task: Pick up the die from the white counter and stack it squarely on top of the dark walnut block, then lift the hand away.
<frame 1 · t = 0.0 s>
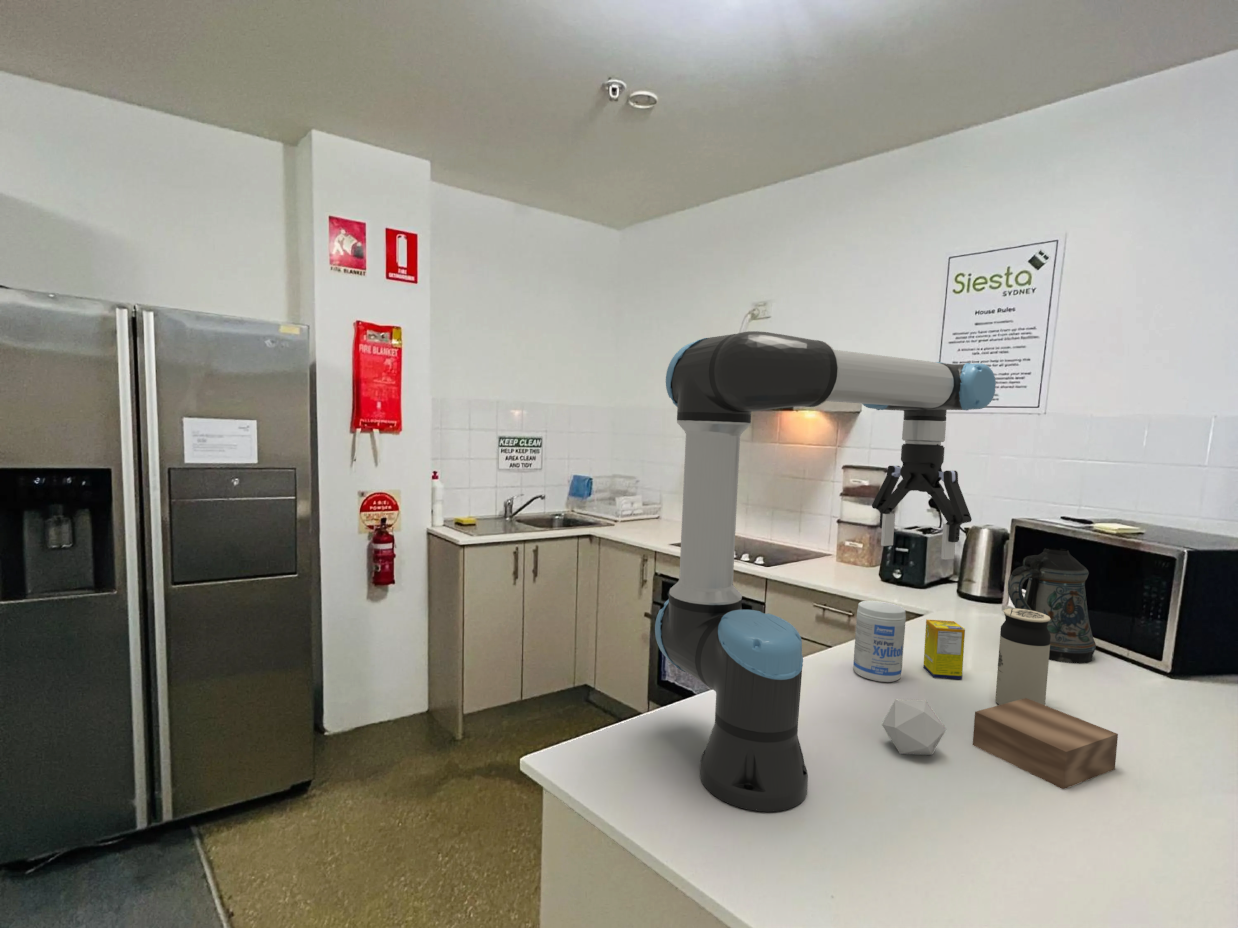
hand: (915, 551, 125), 28 cm above the counter, tool pointing down, fingers open, 13 cm apart
beer stein: (1049, 653, 153), on the counter
walnut block: (1041, 758, 102), on the counter
supplement tub: (876, 675, 135), on the counter
supplement box: (941, 674, 137), on the counter
die: (911, 750, 103), on the counter
travel mug: (1019, 707, 121), on the counter
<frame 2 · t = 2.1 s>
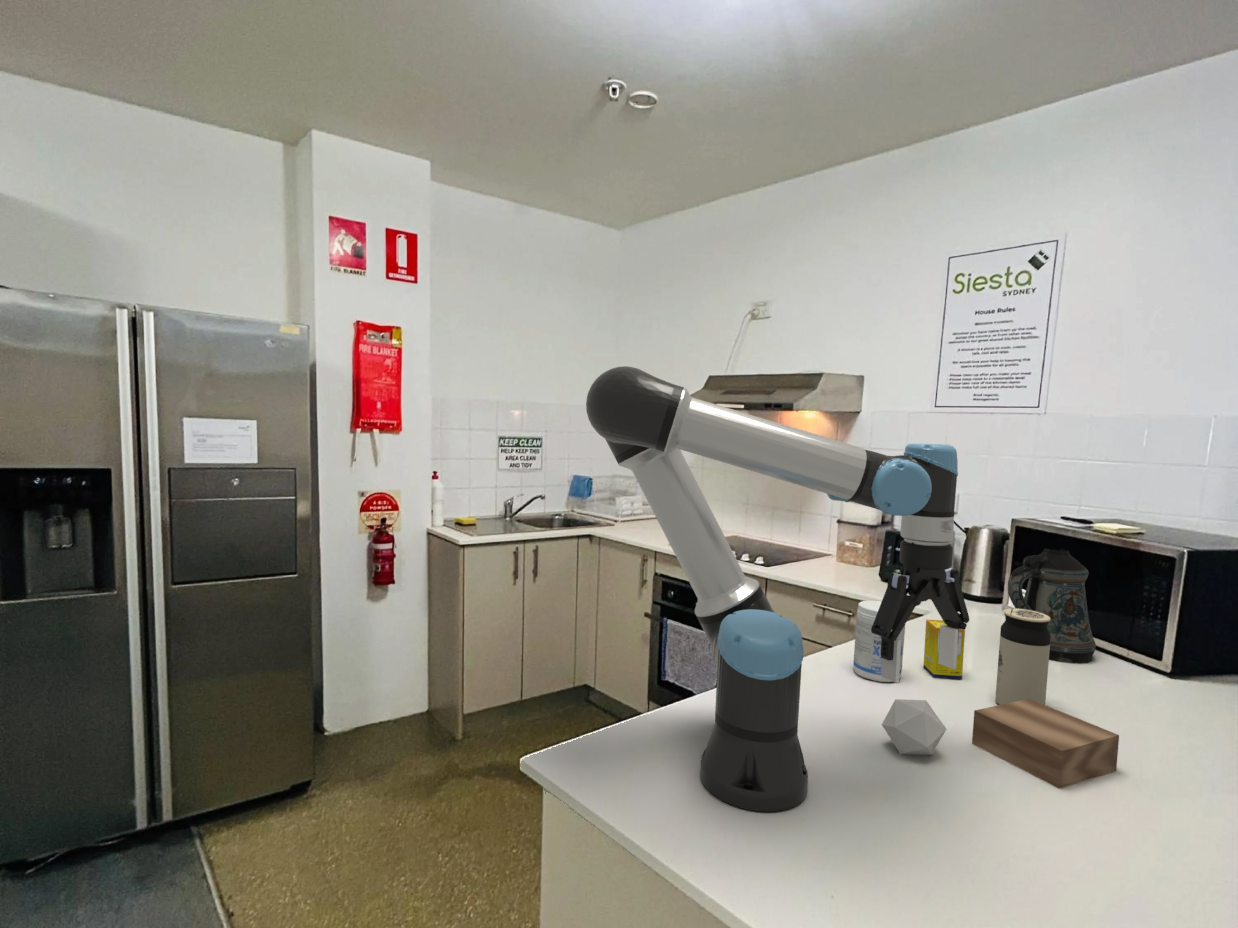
hand: (919, 672, 102), 13 cm above the counter, tool pointing down, fingers open, 13 cm apart
nothing on the counter moved.
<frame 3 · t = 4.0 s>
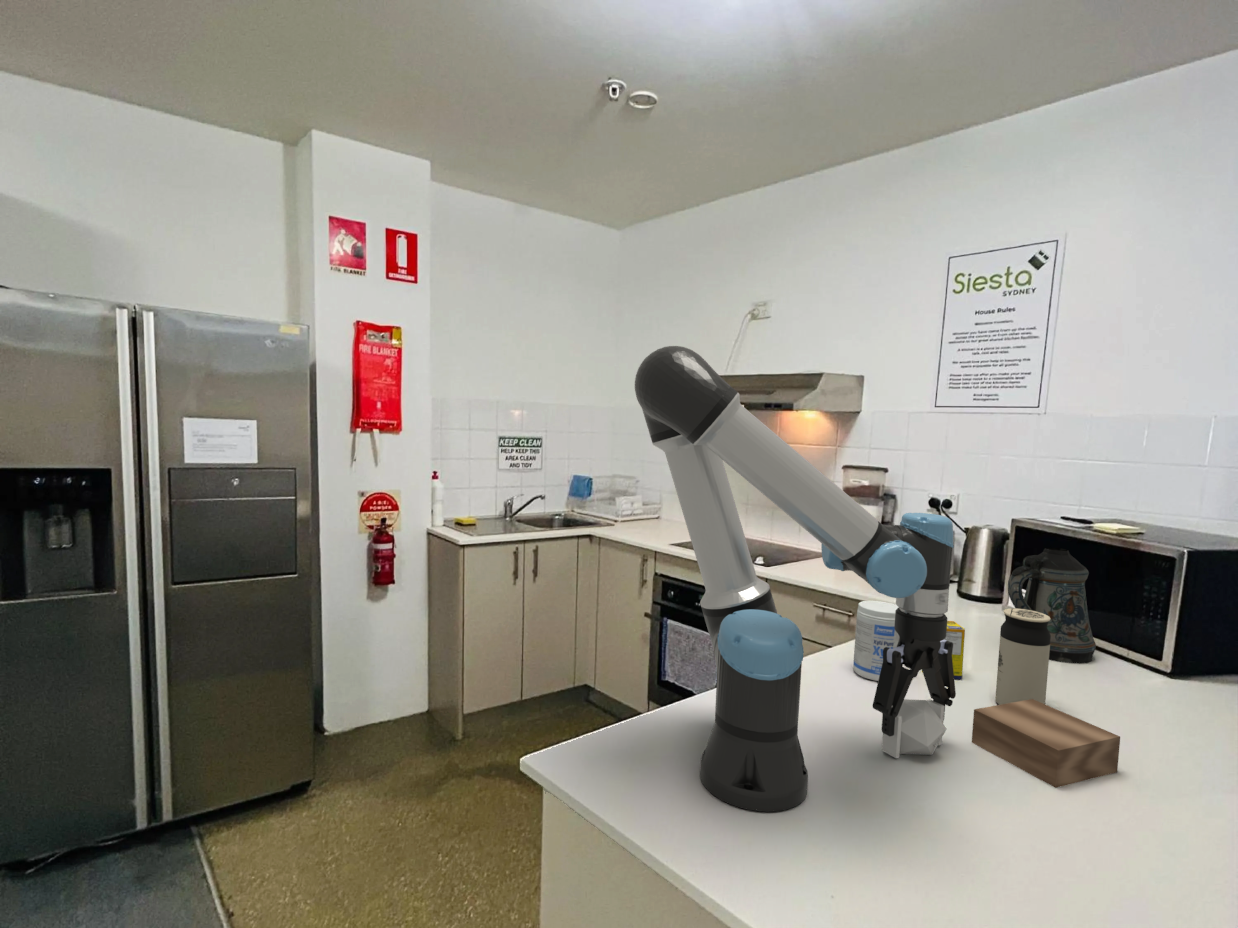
hand: (912, 747, 103), 0 cm above the counter, tool pointing down, fingers closed on die, 9 cm apart
die: (911, 750, 103), on the counter, touching gripper
everything else where it was.
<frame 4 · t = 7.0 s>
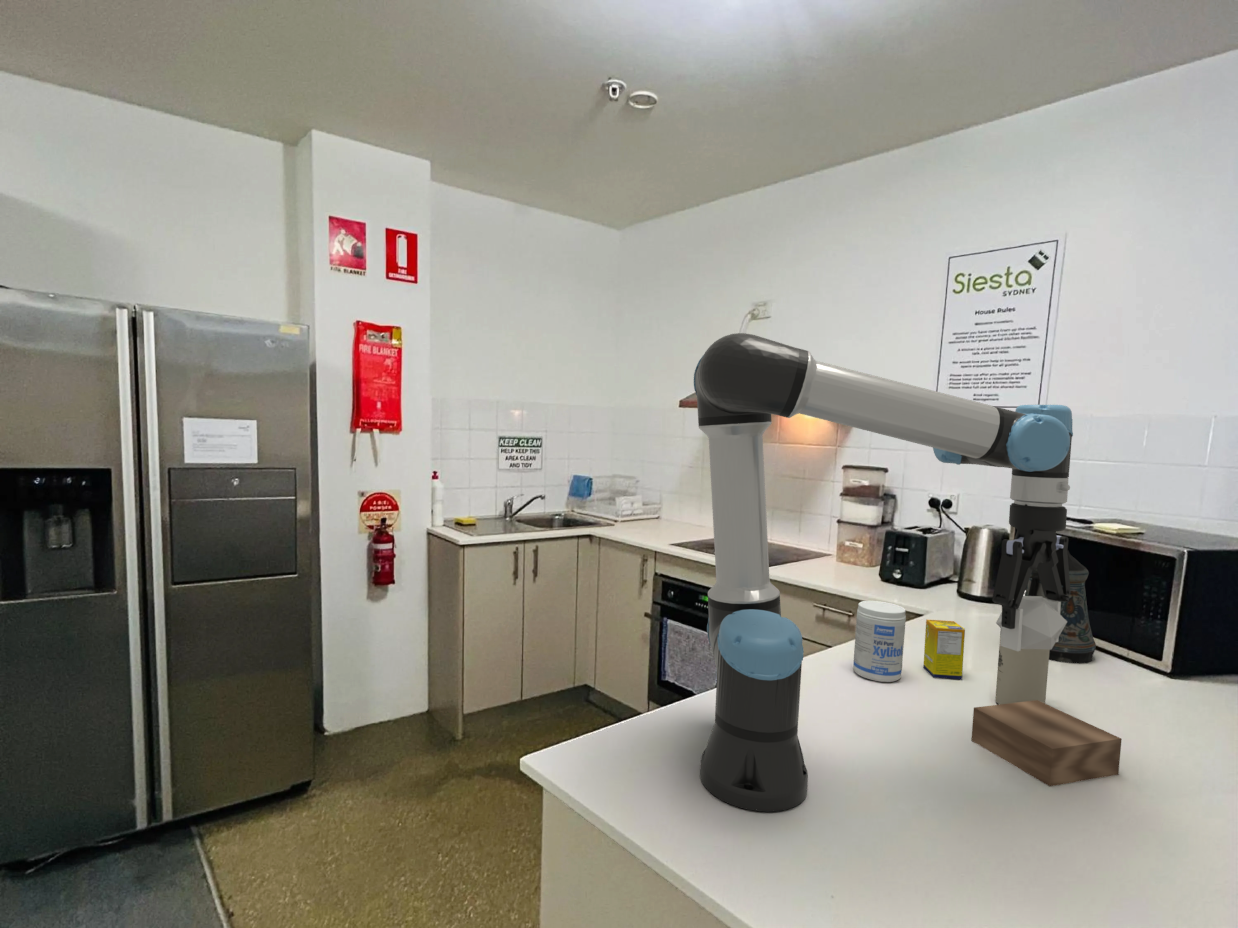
hand: (1029, 643, 101), 18 cm above the counter, tool pointing down, fingers closed on die, 9 cm apart
die: (1029, 647, 101), point 18 cm above the counter, touching gripper
everything else where it was.
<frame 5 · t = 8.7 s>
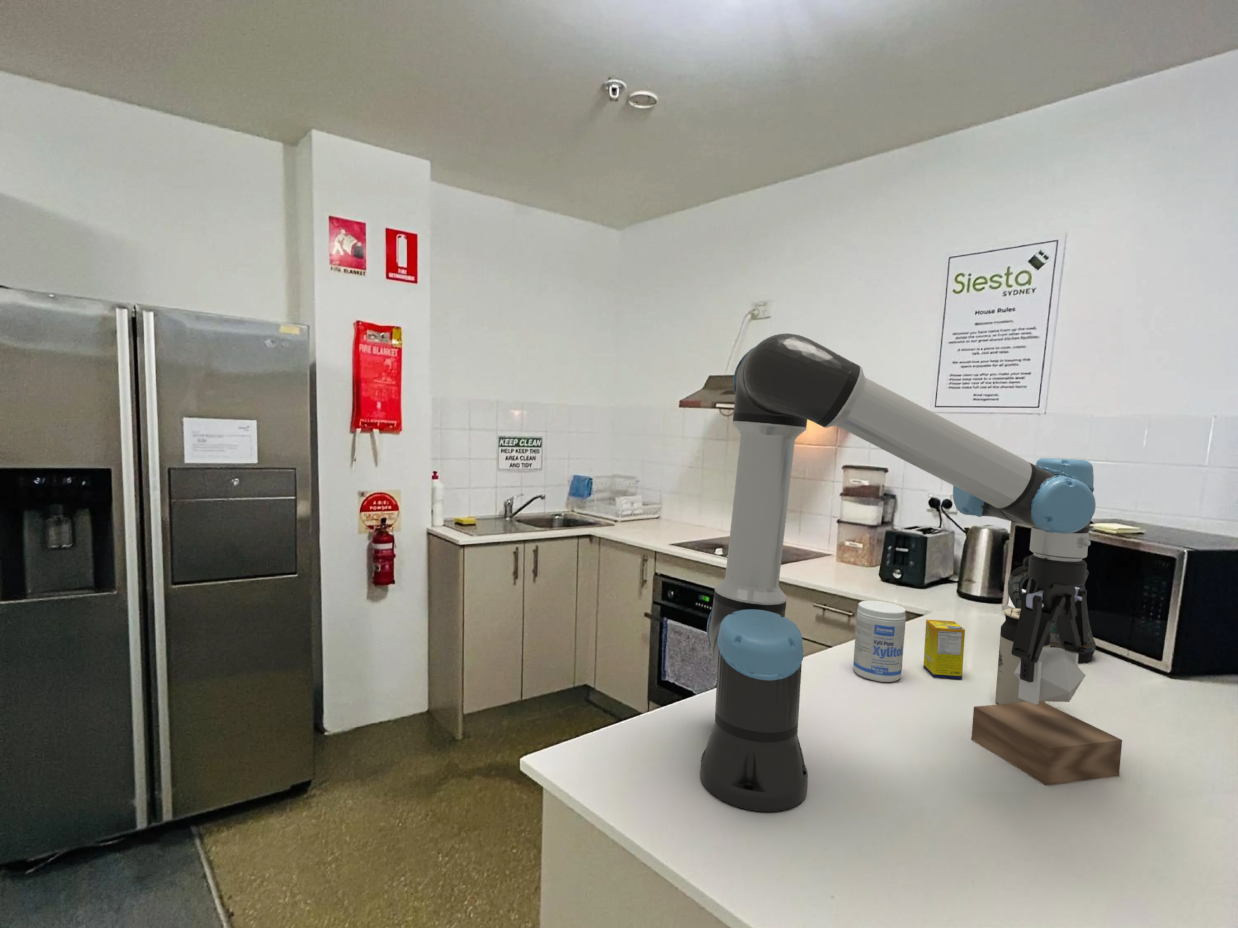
hand: (1047, 695, 102), 10 cm above the counter, tool pointing down, fingers closed on die, 9 cm apart
die: (1046, 698, 102), point 10 cm above the counter, touching gripper
when the fingers open (8 cm above the counter, at t = 10.1 s): die drops 2 cm, resting on walnut block.
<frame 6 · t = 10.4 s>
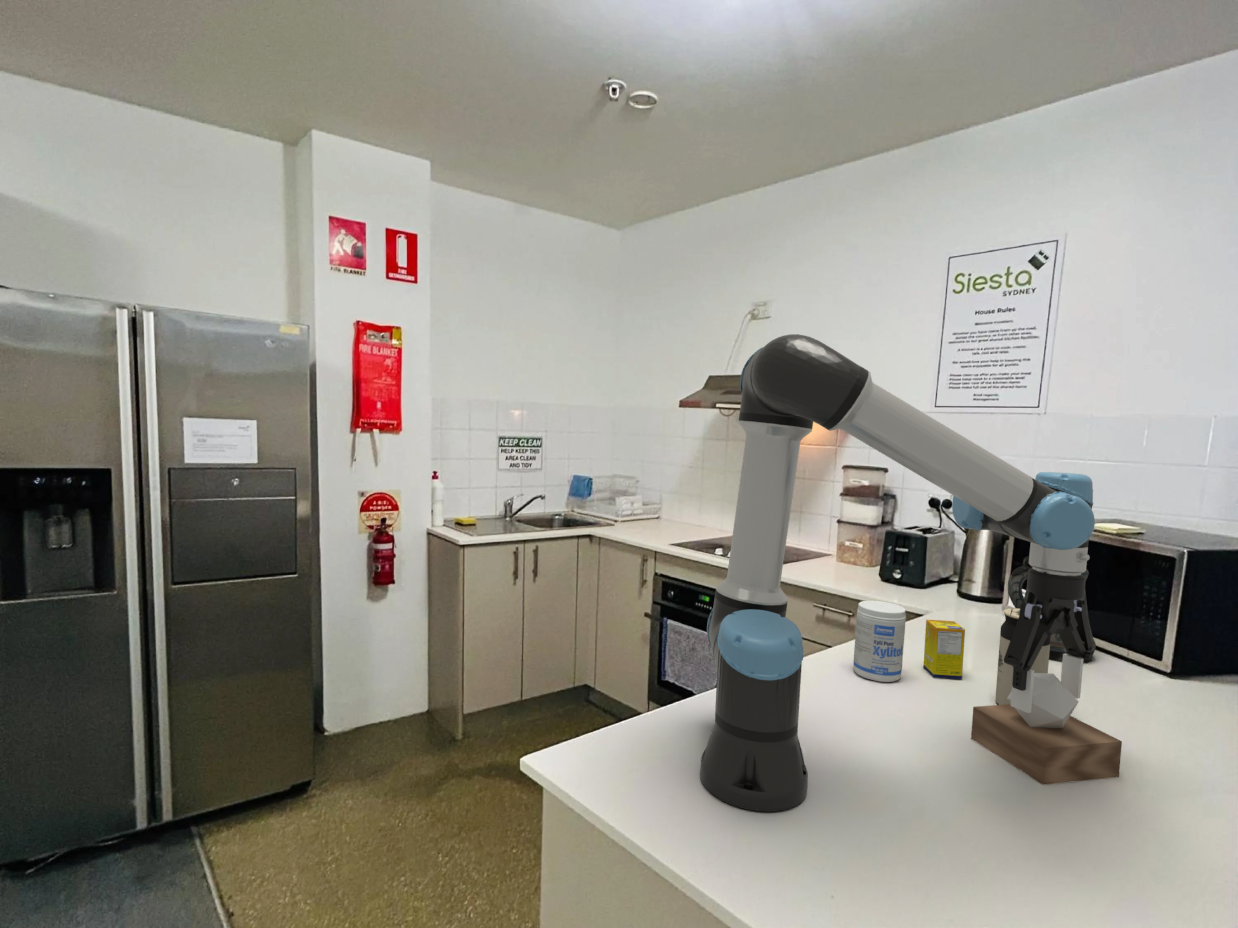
hand: (1046, 702, 102), 9 cm above the counter, tool pointing down, fingers open, 13 cm apart
walnut block: (1040, 759, 102), on the counter, touching die
die: (1040, 724, 102), point 5 cm above the counter, touching walnut block
everything else where it was.
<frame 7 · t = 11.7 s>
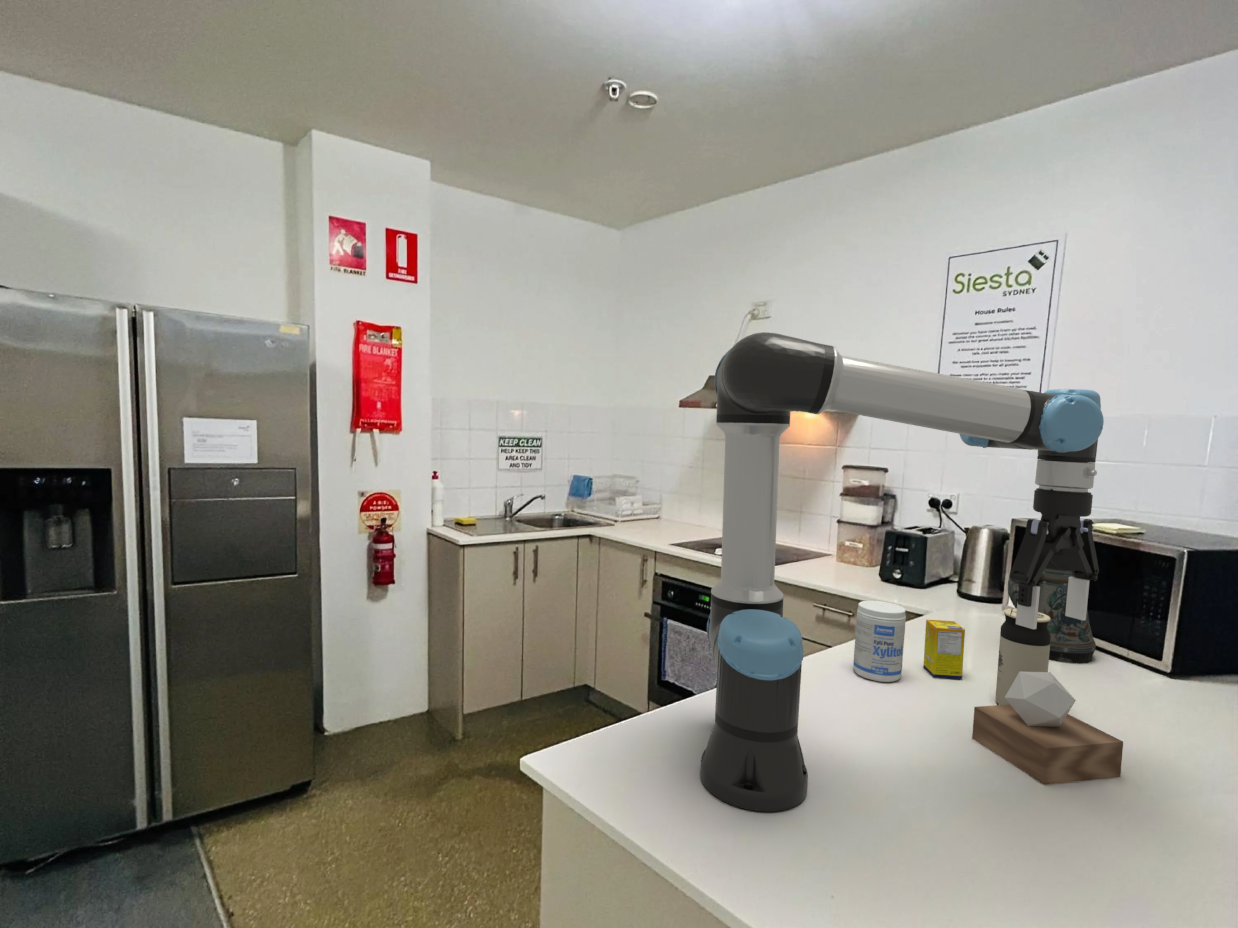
hand: (1051, 622, 101), 22 cm above the counter, tool pointing down, fingers open, 13 cm apart
walnut block: (1042, 759, 102), on the counter
die: (1037, 723, 102), point 5 cm above the counter
everything else where it was.
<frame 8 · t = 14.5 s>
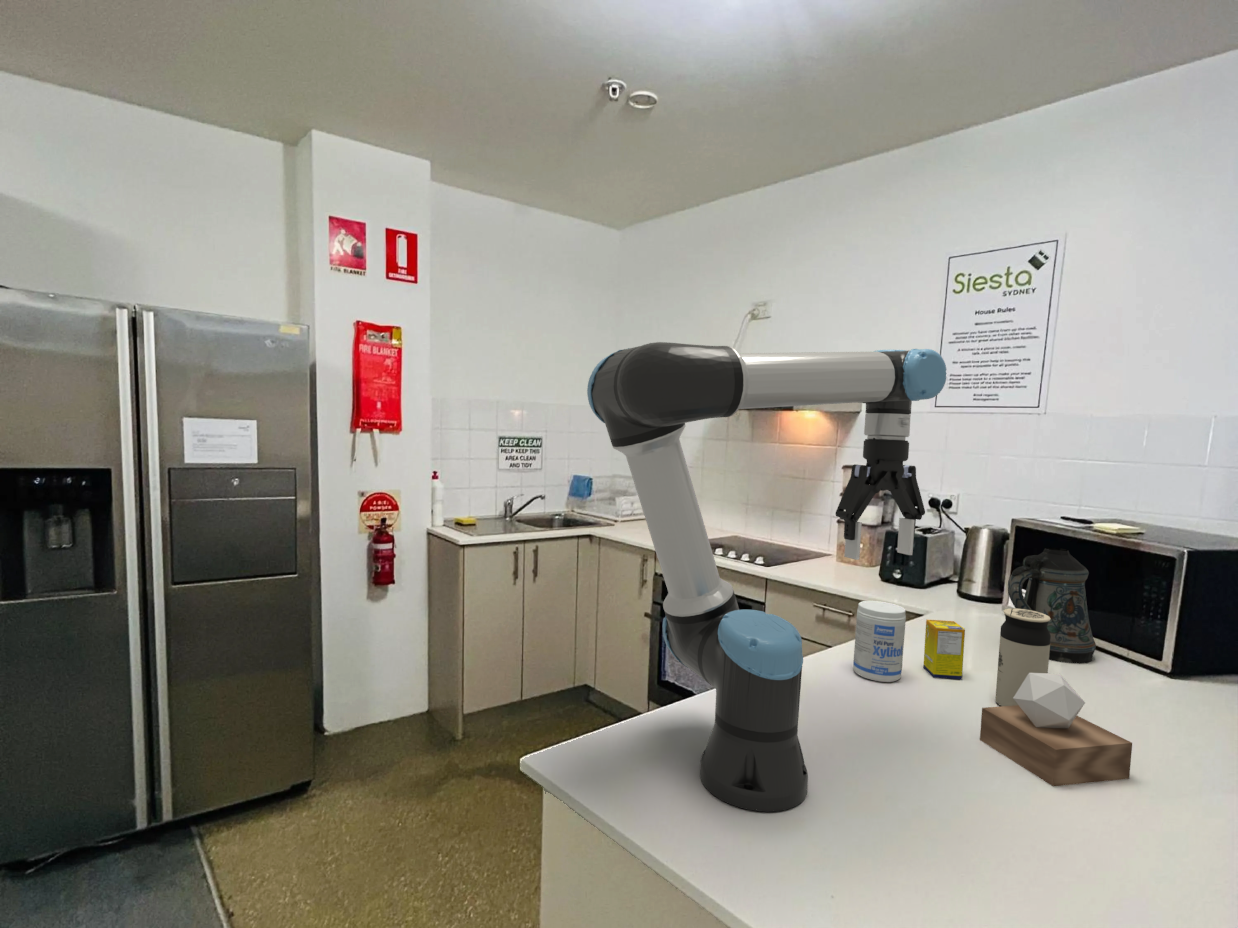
hand: (878, 556, 115), 29 cm above the counter, tool pointing down, fingers open, 13 cm apart
walnut block: (1050, 760, 102), on the counter, touching die
die: (1045, 724, 102), point 5 cm above the counter, touching walnut block
everything else where it was.
at the end: die inside the target area on the walnut block (1.1 cm from its centre), point 5.8 cm above the walnut block's base; die tilted 0°; the gripper is holding nothing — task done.
